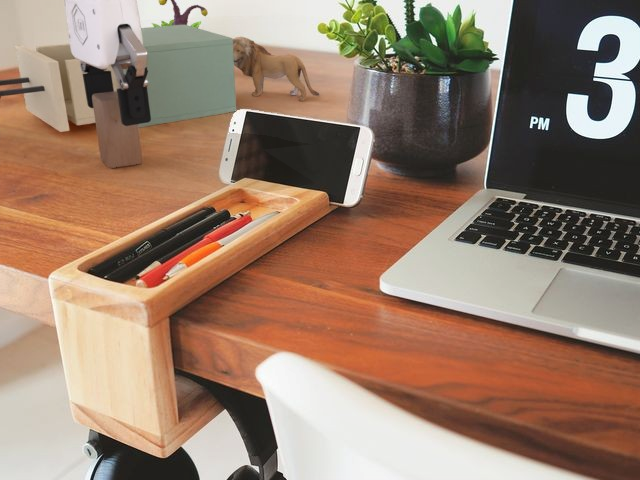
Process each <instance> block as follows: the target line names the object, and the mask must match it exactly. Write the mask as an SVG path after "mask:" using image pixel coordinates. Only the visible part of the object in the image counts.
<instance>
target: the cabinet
mask: <svg viewBox="0 0 640 480" xmlns="http://www.w3.org/2000/svg"><path fill="white" fill-rule="evenodd" d="M160 26H161V25H160ZM141 30H142V38H143V46H144V47H145V49H146V50H147V65H146V67H147V70H148V72H147V80H148V86H147V91H148V99H149V107H150V115H151V121H150V122H148V123H142V124H138V129H139V128H145V127H150V126H156V125H163V124H168V123H175V122H181V121H187V120H193V119H198V118H205V117H211V116H217V115H224V114H230V113H235V112H234V111H235V110H237V95H236V94H237V93H236V78H235V77H236V76H235V74H236V73H235V65H234V57H233V39H234V38H233V37H230V36H225V35H223V34H219V33H216V32H212V31H209V30H205V29H202V28H199V27H198V28H195V27H191V25H188V24H187V25H173V26H161V27H154V26H150V27H149V26H147V27H141ZM123 72H124V74H125V75H126V72H127V69H123ZM229 112H230V113H229Z"/></svg>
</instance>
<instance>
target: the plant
mask: <svg viewBox="0 0 640 480" xmlns="http://www.w3.org/2000/svg"><path fill="white" fill-rule="evenodd" d="M170 1H171V4H172V6H173V7H172V11H173V13H174V15H173V19H170V20H169V22H166V21H164V20H161V21H160V22H161V24H160V25H159V24H157V23H153V22H151V25H152V27H161V26H173V25H188V22H189V20H188V19H189V16H190V14H191V12H192V11H193V10H194V9H200V12H201V15H202V16H204V17H206V16H208V9H206V8H205V7H204V6H202V5H198V4H193V5H191V6H188V7H187V8H186V10H185V11H184V12H183V14H181V9H180V7H179V5H178V4H177V2H176V1H175V0H170ZM167 2H168V0H158V3H159V6H165V5H166V4H167ZM201 24H202V21H201V20H200V21H196V22H193V23H191V24H190V26H191V27H195V28H198V29H199V28H200V25H201Z"/></svg>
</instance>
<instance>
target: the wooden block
mask: <svg viewBox="0 0 640 480" xmlns="http://www.w3.org/2000/svg"><path fill="white" fill-rule="evenodd" d="M92 102H93V108H94V115H95V122H96V123H95V128H96V134H97V140H98V142H97V143H98V148H99V155H100V159H101V161H102V162H103V163H104V164H105V165H106V166H107V167H108V168H109V169H116V167H117V168H123V167H130V166H136V164H137V165H141V164H142V163H143V155H142V154H143V153H142V146H141V138H140V137H141V136H140V131H139V128H138V124H136V125H130V126H125V125H123V124H122V122H121V115H120V108H119V101H118V95H117V91H115V92H104V93H95V94H93V95H92ZM129 165H130V166H129Z"/></svg>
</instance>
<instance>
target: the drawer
mask: <svg viewBox="0 0 640 480" xmlns="http://www.w3.org/2000/svg"><path fill="white" fill-rule="evenodd" d="M14 51H15V55H16V60H17V66H18V71H19V77H16V78H8V79H0V86H9V85H18V84H19V85H20V84H21V86H22V87H20V88H19V87H18V88H10V89H3V90H0V99H1V98H2V97H7V96H14V95H15V96H16V95H23V98H24V103H25V107H26V110H27V111H28V112H29V113H31V114H32V115H34V116H35V117H37V118H38V119H39V120H41V121H43V122H44V123H46V124H47V125H49V126H50V127H52V128H53V129H55V130H56V131H58V132H60V133H65V132H69V131H70V125H69V124H70V123H69V122H71V123H73V124H74V125H76V126H82V125H83V126H84V125H90V124H96V122H95V115H94V108H90V107H89V106H88V104H87V98H86V92H85V86H84V80H83V74H85V73H83V72H82V70H81V67H80V63H81V61H80V60H78V59H76V58H75V57H74V56H73V54H72V53H71V48H70V43H61V44H59V43H58V44H49V45H38V46H35V49H32V48H30V47H28V46H26V45H23V44H22V45H14ZM104 71H111V75H112V82H113V89H114V92H115V91H117V89H119V88H120V85H119V83H118V81H117V78H116V76H115V74H114V71H113V69H112V67H111V65H109V66H108V68H107V70H104Z"/></svg>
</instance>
